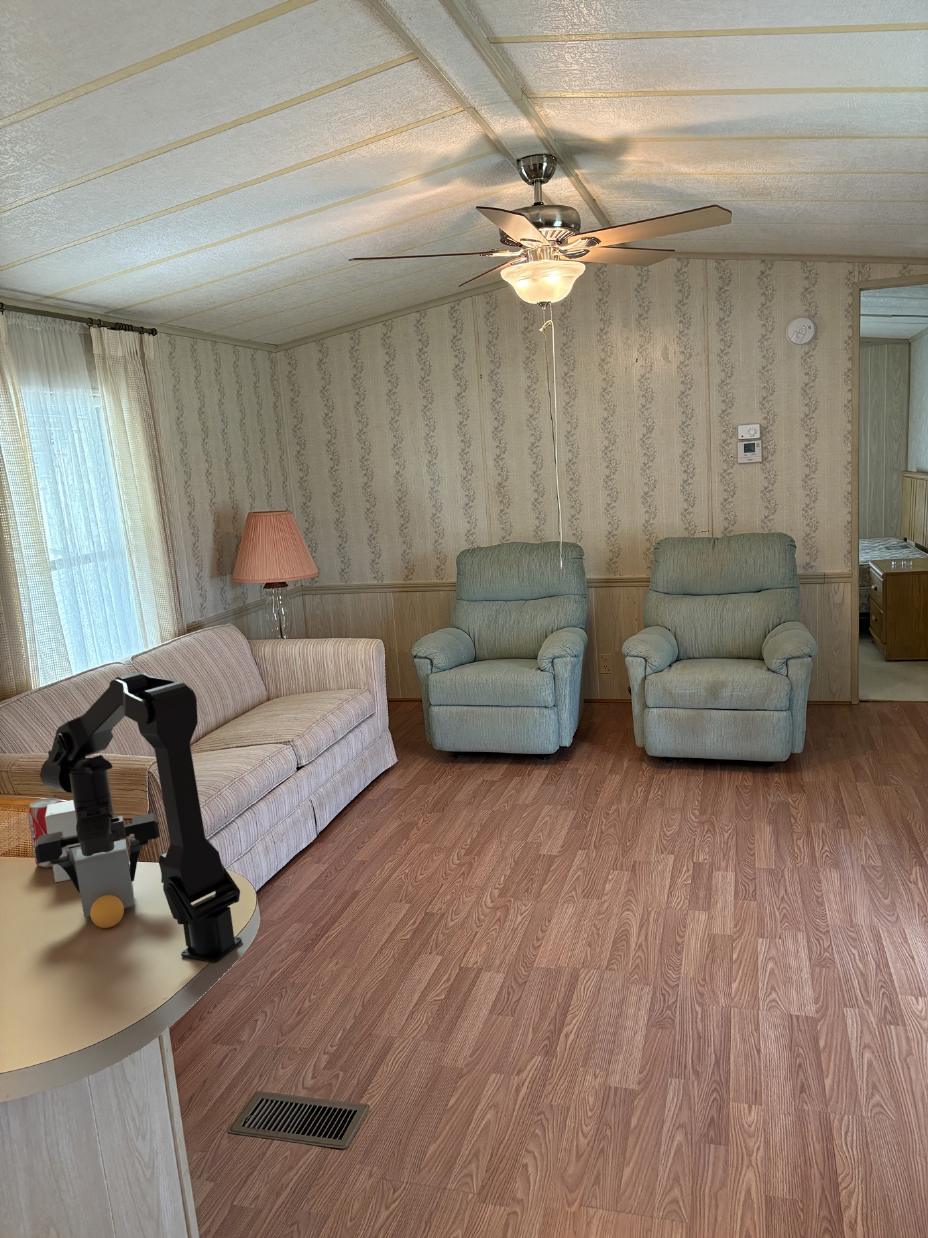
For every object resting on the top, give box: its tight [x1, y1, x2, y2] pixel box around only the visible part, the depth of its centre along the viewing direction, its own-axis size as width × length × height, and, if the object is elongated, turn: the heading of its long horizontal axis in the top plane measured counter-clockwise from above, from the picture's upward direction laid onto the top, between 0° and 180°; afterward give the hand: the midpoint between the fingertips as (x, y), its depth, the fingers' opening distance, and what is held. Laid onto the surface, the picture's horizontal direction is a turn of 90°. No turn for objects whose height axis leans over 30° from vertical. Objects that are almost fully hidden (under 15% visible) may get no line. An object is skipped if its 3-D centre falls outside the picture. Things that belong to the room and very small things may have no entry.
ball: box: [89, 895, 125, 929], centre depth 151 cm, size 5×5×5 cm
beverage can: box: [26, 797, 60, 868], centre depth 179 cm, size 6×6×12 cm
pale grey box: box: [75, 838, 136, 918], centre depth 157 cm, size 8×8×9 cm
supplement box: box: [45, 799, 81, 883], centre depth 174 cm, size 7×7×13 cm
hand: (106, 886), depth 157 cm, fingers closed on pale grey box, 8 cm apart
